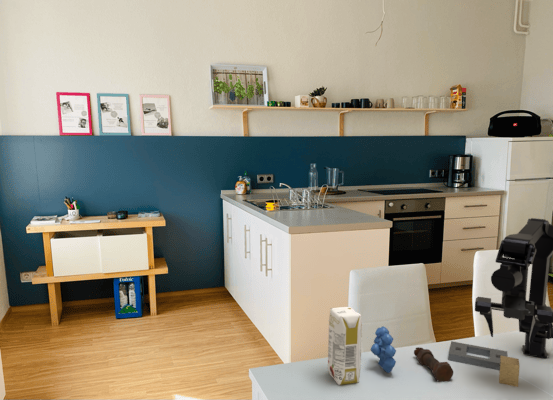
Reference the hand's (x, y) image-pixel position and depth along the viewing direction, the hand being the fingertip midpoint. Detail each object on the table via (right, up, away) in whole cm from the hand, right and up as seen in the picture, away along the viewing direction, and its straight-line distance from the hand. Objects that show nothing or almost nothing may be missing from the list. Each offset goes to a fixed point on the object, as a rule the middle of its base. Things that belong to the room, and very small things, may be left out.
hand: (510, 339), depth 122 cm
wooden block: (0, -12, +1) cm, 12 cm away
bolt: (-19, -11, +8) cm, 24 cm away
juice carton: (-45, -11, +2) cm, 47 cm away
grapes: (-34, -11, +7) cm, 36 cm away
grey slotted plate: (-2, -10, +14) cm, 18 cm away
